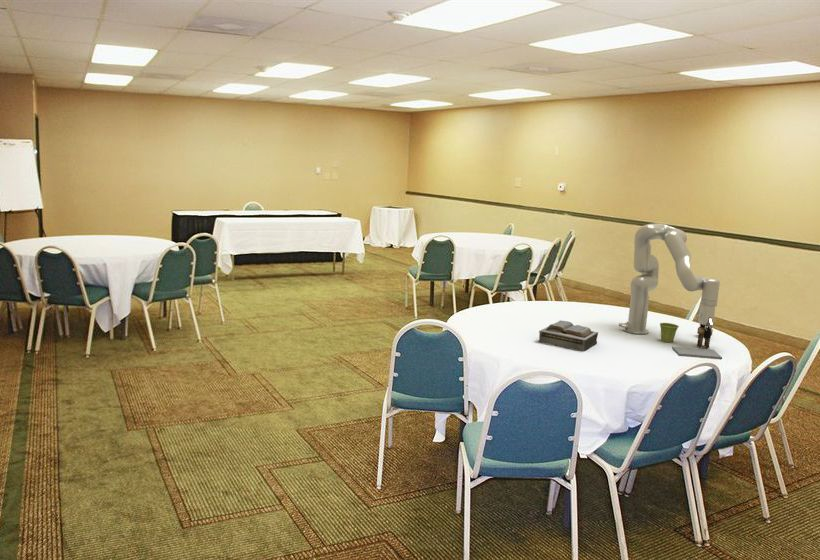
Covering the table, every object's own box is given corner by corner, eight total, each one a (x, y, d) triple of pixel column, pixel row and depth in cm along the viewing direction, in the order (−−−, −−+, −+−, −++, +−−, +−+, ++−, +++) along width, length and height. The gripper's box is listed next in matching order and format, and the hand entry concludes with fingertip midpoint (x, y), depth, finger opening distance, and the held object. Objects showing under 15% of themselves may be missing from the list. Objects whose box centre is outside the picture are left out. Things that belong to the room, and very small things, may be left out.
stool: (697, 348, 333) (700, 330, 332) (693, 344, 340) (696, 326, 339) (712, 349, 333) (714, 331, 331) (707, 345, 339) (710, 327, 338)
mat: (678, 355, 319) (679, 353, 318) (672, 348, 331) (672, 346, 331) (721, 359, 316) (722, 357, 316) (713, 351, 329) (713, 349, 329)
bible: (557, 334, 350) (559, 316, 348) (603, 345, 331) (605, 327, 329) (532, 341, 333) (534, 322, 331) (579, 353, 315) (581, 334, 313)
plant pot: (676, 339, 348) (678, 324, 347) (677, 344, 339) (679, 328, 338) (657, 337, 351) (659, 321, 350) (658, 341, 342) (659, 325, 341)
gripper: (696, 298, 341) (691, 331, 344) (706, 305, 324) (701, 339, 327) (711, 299, 340) (706, 332, 343) (722, 306, 323) (717, 341, 326)
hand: (704, 335), depth 335 cm, fingers open, 7 cm apart
